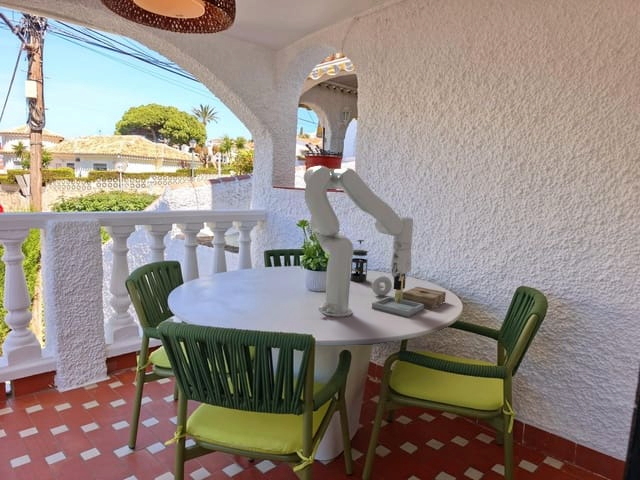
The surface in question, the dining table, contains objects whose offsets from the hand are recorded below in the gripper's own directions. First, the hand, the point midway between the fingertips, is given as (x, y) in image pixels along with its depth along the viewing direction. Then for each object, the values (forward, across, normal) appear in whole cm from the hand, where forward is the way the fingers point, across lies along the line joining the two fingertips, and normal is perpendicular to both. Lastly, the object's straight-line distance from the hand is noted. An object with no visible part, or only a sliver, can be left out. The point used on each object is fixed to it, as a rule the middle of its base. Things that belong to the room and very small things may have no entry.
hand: (399, 288), depth 165 cm
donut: (+9, +14, +16) cm, 23 cm away
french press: (+9, +33, +41) cm, 53 cm away
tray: (+9, 0, 0) cm, 9 cm away
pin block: (+9, +18, -4) cm, 21 cm away
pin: (+6, 0, 0) cm, 6 cm away
